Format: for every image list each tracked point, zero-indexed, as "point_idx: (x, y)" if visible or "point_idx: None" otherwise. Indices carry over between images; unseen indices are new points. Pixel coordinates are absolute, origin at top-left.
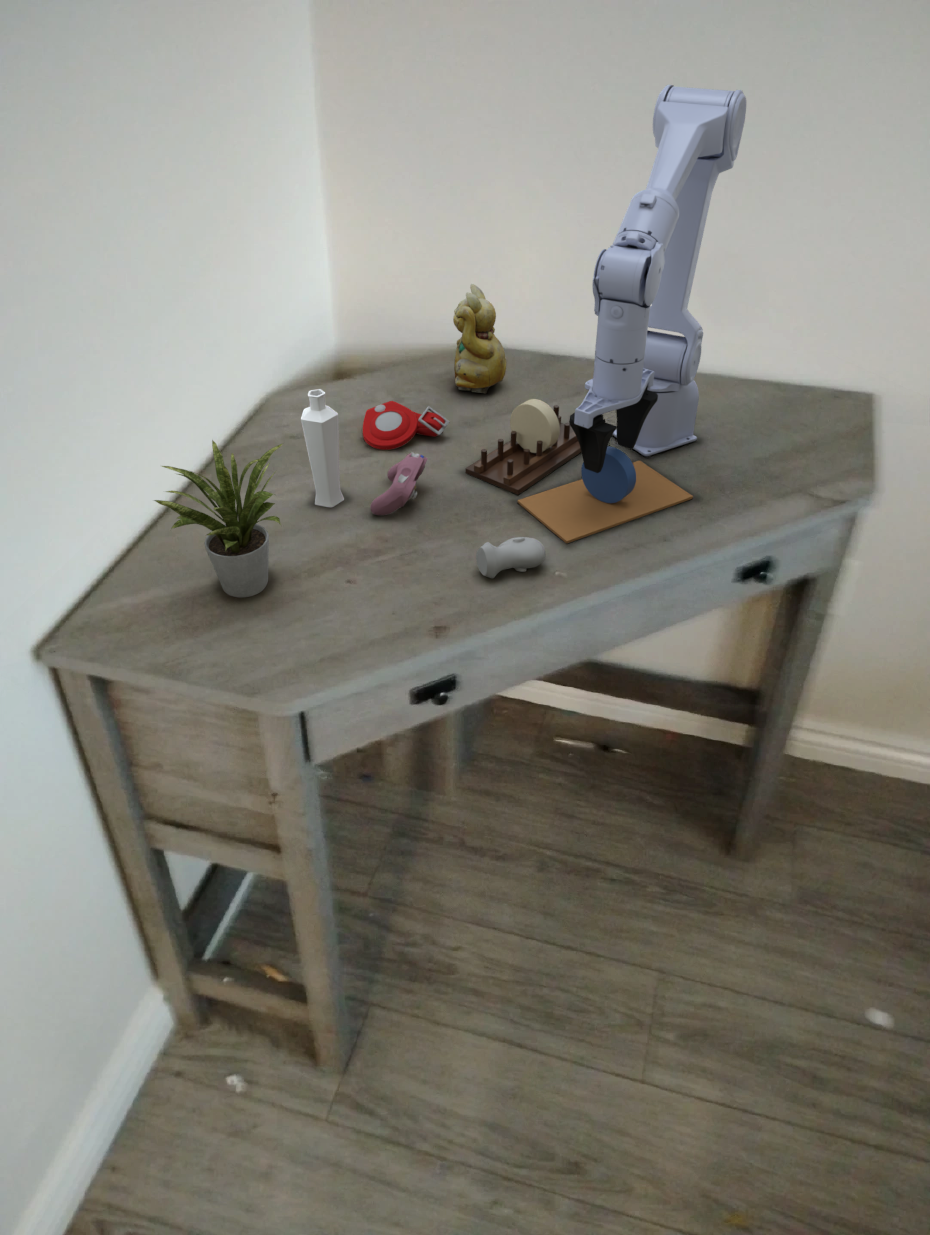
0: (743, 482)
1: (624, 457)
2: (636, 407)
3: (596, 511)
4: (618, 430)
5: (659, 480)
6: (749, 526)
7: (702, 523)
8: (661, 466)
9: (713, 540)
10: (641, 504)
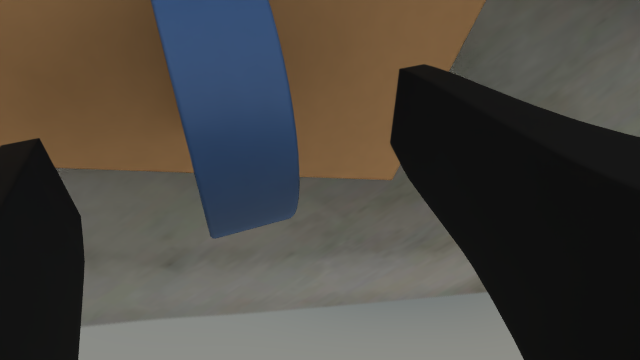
0: None
1: (268, 222)
2: (566, 347)
3: (82, 75)
4: (454, 106)
5: None
6: (353, 287)
7: (303, 250)
8: (518, 3)
9: (259, 297)
10: None
